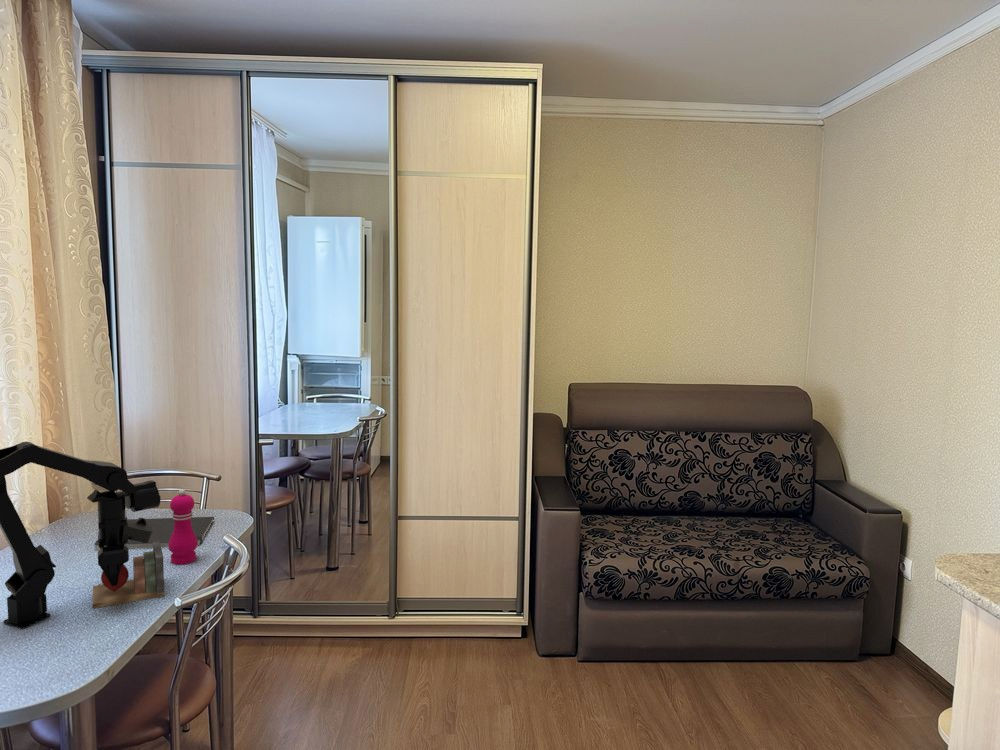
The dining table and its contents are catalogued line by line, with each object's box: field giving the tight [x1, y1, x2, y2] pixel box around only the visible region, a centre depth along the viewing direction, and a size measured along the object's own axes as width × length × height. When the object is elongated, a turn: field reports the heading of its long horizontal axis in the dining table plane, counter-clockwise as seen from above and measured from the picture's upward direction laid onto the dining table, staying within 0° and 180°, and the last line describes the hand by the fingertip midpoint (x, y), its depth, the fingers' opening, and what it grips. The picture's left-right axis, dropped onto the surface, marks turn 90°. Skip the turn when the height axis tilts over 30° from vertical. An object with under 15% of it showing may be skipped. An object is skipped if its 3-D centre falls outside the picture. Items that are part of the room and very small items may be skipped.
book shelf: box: [92, 542, 165, 609], centre depth 168 cm, size 15×11×10 cm
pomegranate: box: [100, 563, 129, 591], centre depth 167 cm, size 6×6×8 cm
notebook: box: [93, 516, 215, 551], centre depth 207 cm, size 22×2×28 cm
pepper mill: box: [168, 488, 198, 565], centre depth 188 cm, size 7×7×20 cm
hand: (114, 578), depth 167 cm, fingers open, 9 cm apart
